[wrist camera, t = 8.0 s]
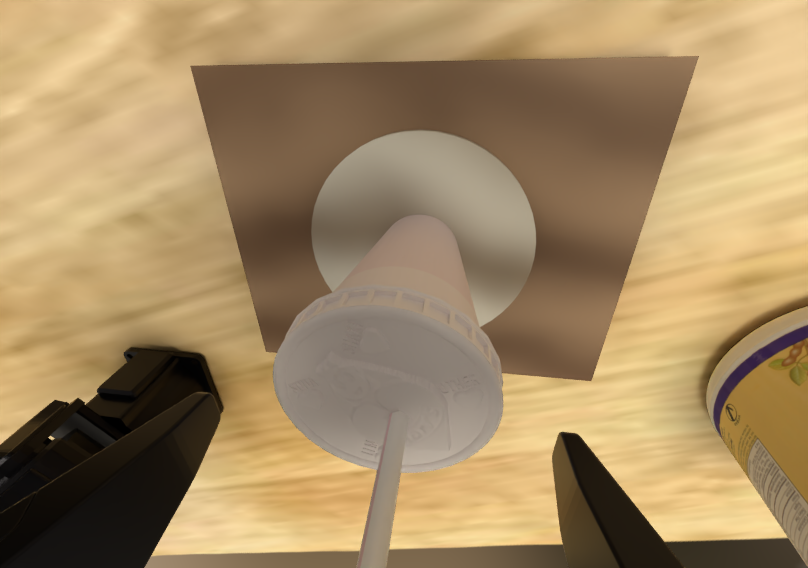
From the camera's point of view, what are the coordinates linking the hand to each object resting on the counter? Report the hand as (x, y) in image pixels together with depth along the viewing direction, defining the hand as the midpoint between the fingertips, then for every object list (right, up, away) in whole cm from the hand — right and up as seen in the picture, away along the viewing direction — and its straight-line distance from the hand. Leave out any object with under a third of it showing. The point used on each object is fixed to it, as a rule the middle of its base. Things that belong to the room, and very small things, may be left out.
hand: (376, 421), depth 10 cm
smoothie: (+2, +5, +9) cm, 10 cm away
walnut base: (+2, +6, +11) cm, 13 cm away
